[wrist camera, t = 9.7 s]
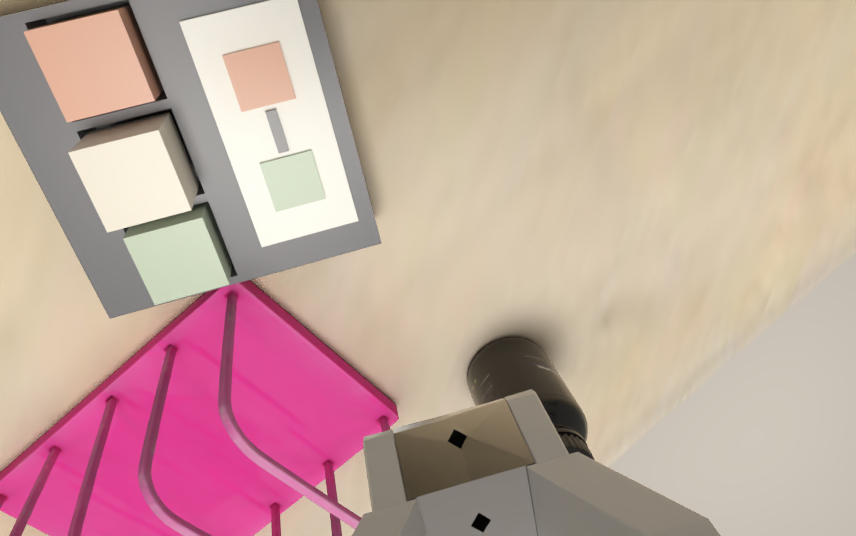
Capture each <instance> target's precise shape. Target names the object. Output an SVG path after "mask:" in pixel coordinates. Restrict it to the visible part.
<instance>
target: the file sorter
mask: <svg viewBox="0 0 856 536" xmlns="http://www.w3.org/2000/svg"><path fill="white" fill-rule="evenodd" d="M398 419H399V417H398V412H397V408H396V405H395V404H394V403H393V402H392V401H391V400H390V399H388V398H387V397H386V396H385V395H384V394H383V393H381V392H380V391H379V390H378V389H377V388H376V387H374V386H373V385H372V384H371V383H370V382H368V381H367V380H366V379H365V378H364V377H363V376H361V375H360V374H359V373H358V372H357V371H356V370H354V369H353V368H352V367H351V366H350V365H348V364H347V363H346V362H345V361H344V360H343V359H341V358H340V357H339V356H338V355H337V354H336V353H334V352H333V351H332V350H331V349H330V348H328V347H327V346H326V345H325V344H324V343H323V342H321V341H320V340H319V339H318V338H317V337H316V336H314V335H313V334H312V333H311V332H310V331H309V330H307V329H306V328H305V327H304V326H303V325H302V324H300V323H299V322H298V321H297V320H296V319H295V318H293V317H292V316H291V315H290V314H289V313H288V312H286V311H285V310H284V309H283V308H282V307H280V306H279V305H278V304H277V303H276V302H275V301H273V300H272V299H271V298H270V297H269V296H268V295H266V294H265V293H264V292H263V291H262V290H260V289H259V288H258V287H257V286H256V285H255V284H254V283H252V282H251V281H250V280H247V281H244V282H240V283H237V284H233V285H229V286H226V287H222V288H218V289H215V290H211V291H208V292H206V293H205V294H203V295H202V296H201V297H200V298H199V299H198V300H196V301H195V302H194V303H193V304H192V305H191V306H190V307H188V308H187V309H186V310H185V311H184V312H183V313H182V314H180V315H179V316H178V317H177V318H176V319H175V320H173V321H172V322H171V323H170V324H169V325H168V326H167V327H166V328H164V329H163V330H162V331H161V332H160V333H159V334H158V335H156V336H155V337H154V338H153V339H152V340H151V341H150V342H148V343H147V344H146V345H145V346H144V347H143V348H142V349H141V350H139V351H138V352H137V353H136V354H135V355H134V356H133V357H131V358H130V359H129V360H128V361H127V362H126V363H125V364H123V365H122V366H121V367H120V368H119V369H118V370H117V371H115V372H114V373H113V374H112V375H111V376H110V377H109V378H107V379H106V380H105V381H104V382H103V383H102V384H101V385H100V386H98V387H97V388H96V389H95V390H94V391H93V392H92V393H90V394H89V395H88V396H87V397H86V398H85V399H84V400H82V401H81V402H80V403H79V404H78V405H77V406H76V407H75V408H73V409H72V410H71V411H70V412H69V413H68V414H67V415H65V416H64V417H63V418H62V419H61V420H60V421H59V422H57V423H56V424H55V425H54V426H53V427H52V428H51V429H50V430H48V431H47V432H46V433H45V434H44V435H43V436H42V437H40V438H39V439H38V440H37V441H36V442H35V443H34V444H32V445H31V446H30V447H29V448H28V449H27V450H26V451H24V452H23V453H22V454H21V455H20V456H19V457H18V458H16V459H15V460H14V461H13V462H12V463H11V464H10V465H9V466H7V467H6V468H5V469H4V470H3V471H2V472H0V510H1V511H3V512H4V513H6V514H8V515H10V516H12V517H14V518H16V519H17V521H16V523H15V525H14V527H13V529H12V531H11V533H10V536H21V535H22V533H23V531H24V528H25V526H26V524H28V525H30V526H32V527H34V528H36V529H38V530H40V531H42V532H44V533H46V534H48V535H50V536H253V535H255V534H256V533H257V532H258V531H260V530H261V529H262V528H264V527H265V526H266V525H267V524H269V523H270V522H272V536H281V526H280V514H281V513H282V512H284V511H285V510H286V509H287V508H289V507H290V506H291V505H292V504H294V503H295V502H296V501H298V500H299V499H300V498H301V497H302V496H305V497H307V498H308V499H310V500H311V501H313V502H314V503H316V504H317V505H319V506H320V507H322V508H323V509H325V510H326V511H328V512H330V518H331V528H332V536H342V532H341V524H340V519H341V520H342V521H344V522H345V523H347V524H348V525H350V526H351V527H353V528H354V529H356V527H357V526H358V524H359V522H360V520H361V517H359V516H358V515H356V514H354V513H353V512H351V511H350V510H348V509H347V508H345V507H344V506H342V505H341V504H339V503H338V500H337V493H336V485H335V477H334V471H335V470H336V469H338V468H339V467H340V466H341V465H343V464H344V463H345V462H346V461H347V460H349V459H350V458H351V457H353V456H354V455H355V454H356V453H358V452H359V451H360V450H361V449H363V438H364V437H365V436H368V435H372V434H376V433H380V432H384V431H388V430H390V426H391V425H393V424H394V423H395V422H396V421H397V420H398ZM325 478H326V485H327V493H328V496H327V495H326V494H324V493H323V492H321V491H320V490H318V489H317V488H315V486H316V485H317V484H319V483H320V482H321V481H323V480H324V479H325Z"/></svg>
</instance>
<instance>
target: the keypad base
mask: <svg viewBox="0 0 856 536" xmlns="http://www.w3.org/2000/svg"><path fill="white" fill-rule="evenodd" d="M128 4H130V5H131V8H132V10H133V13H134V16H135V18H136V21H137V23H138V26H139V28H140V31H141V33H142V36H143V38H144V41H145V43H146V46H147V48H148V51H149V53H150V56H151V58H152V61H153V63H154V66H155V68H156V71H157V74H158V76H159V79H160V81H161V84H162V86H163V89H164V90H163V91H162V92H161V94H160V95H159V96H158V97H157V99H156V100H155V101H153V102H149V103H145V104H140V105H136V106H132V107H128V108H124V109H120V110H116V111H112V112H108V113H104V114H100V115H96V116H92V117H88V118H84V119H80V120H76V121H72V122H68V123H67V122H66V120H65V118H64V115H63V113H62V111H61V109H60V107H59V105H58V103H57V101H56V99H55V97H54V95H53V93H52V90H51V88H50V86H49V84H48V82H47V80H46V78H45V76H44V74H43V72H42V70H41V68H40V66H39V63H38V61H37V59H36V57H35V55H34V53H33V51H32V49H31V47H30V45H29V43H28V41H27V39H26V36H25V34H24V31H27V30H30V29H33V28H36V27H39V26H42V25H45V24H48V23H51V22H55V21H60V20H64V19H68V18H72V17H77V16H81V15H85V14H90V13H94V12H98V11H103V10H107V9H111V8H116V7H120V6H124V5H128ZM0 111H1V113H2V115H3V117H4V119H5V121H6V123H7V125H8V127H9V129H10V130H11V132H12V134H13V136H14V138H15V140H16V142H17V144H18V146H19V147H20V149H21V151H22V153H23V155H24V157H25V159H26V161H27V163H28V165H29V166H30V168H31V170H32V172H33V174H34V176H35V178H36V180H37V182H38V183H39V185H40V187H41V189H42V191H43V193H44V195H45V197H46V199H47V201H48V202H49V204H50V206H51V208H52V210H53V212H54V214H55V216H56V218H57V219H58V221H59V223H60V225H61V227H62V229H63V231H64V233H65V235H66V237H67V238H68V240H69V242H70V244H71V246H72V248H73V250H74V252H75V254H76V255H77V257H78V259H79V261H80V263H81V265H82V267H83V269H84V271H85V273H86V274H87V276H88V278H89V280H90V282H91V284H92V286H93V288H94V290H95V291H96V293H97V295H98V297H99V299H100V301H101V303H102V305H103V307H104V309H105V310H106V312H107V314H108V316H109V318H114V317H117V316H121V315H125V314H128V313H132V312H136V311H139V310H143V309H146V308H150V307H154V306H157V305H161V304H164V303H161V304H157V305H154V302H153V300H152V298H151V296H150V294H149V292H148V290H147V288H146V286H145V284H144V282H143V280H142V278H141V275H140V273H139V271H138V269H137V267H136V265H135V263H134V261H133V259H132V257H131V255H130V253H129V251H128V248H127V246H126V244H125V242H124V240H123V237H124V236H125V234H126V232H127V230H128V228H129V227H127V228H123V229H119V230H115V231H112V232H108V233H107V231H106V229H105V227H104V225H103V223H102V221H101V219H100V217H99V215H98V213H97V211H96V209H95V207H94V205H93V202H92V200H91V198H90V196H89V194H88V192H87V190H86V188H85V186H84V184H83V182H82V180H81V178H80V176H79V174H78V172H77V170H76V168H75V166H74V164H73V162H72V160H71V158H70V156H69V154H68V152H69V151H70V150H71V149H72V148H73V147H74V146H75V145H76V144H77V143H78V142H79V141H80V140H81V139H82V138H83V137H84V136H85V135H86V134H87V133H88V132H90V131H94V130H98V129H102V128H106V127H110V126H114V125H118V124H122V123H126V122H130V121H134V120H138V119H142V118H146V117H150V116H154V115H158V114H162V113H166V112H170V113H171V116H172V118H173V121H174V123H175V126H176V128H177V131H178V133H179V136H180V138H181V141H182V143H183V146H184V148H185V151H186V153H187V156H188V158H189V161H190V163H191V166H192V168H193V171H194V173H195V176H196V178H197V181H198V183H199V188H198V191H197V195H196V198H195V201H194V204H193V205H197V204H201V203H204V202H209V205H210V207H211V210H212V212H213V215H214V217H215V220H216V222H217V225H218V227H219V230H220V232H221V235H222V237H223V240H224V242H225V245H226V248H227V250H228V253H229V255H230V258H231V260H232V270H231V277H230V285H233V284H237V283H240V282H244V281H247V280H251V279H255V278H258V277H262V276H265V275H269V274H273V273H276V272H280V271H283V270H287V269H291V268H294V267H298V266H301V265H305V264H309V263H312V262H316V261H319V260H323V259H327V258H330V257H334V256H338V255H341V254H345V253H348V252H352V251H356V250H359V249H363V248H366V247H370V246H374V245H377V244H381V240H380V236H379V232H378V229H377V225H376V221H375V217H374V213H373V210H372V206H371V202H370V198H369V194H368V191H367V187H366V183H365V179H364V175H363V172H362V168H361V164H360V160H359V156H358V153H357V149H356V145H355V141H354V138H353V134H352V130H351V126H350V122H349V119H348V115H347V111H346V107H345V103H344V100H343V96H342V92H341V88H340V84H339V81H338V77H337V73H336V69H335V65H334V62H333V58H332V54H331V50H330V46H329V43H328V39H327V35H326V31H325V28H324V24H323V20H322V16H321V12H320V9H319V5H318V1H317V0H68V1H64V2H59V3H55V4H51V5H46V6H42V7H38V8H33V9H29V10H24V11H20V12H16V13H11V14H7V15H3V16H0ZM226 286H229V285H226ZM226 286H222V287H226ZM222 287H219V288H222ZM215 289H218V288H215ZM215 289H212V290H215ZM208 291H211V290H208ZM208 291H204V292H208ZM204 292H201V293H204ZM197 294H200V293H197ZM197 294H194V295H197ZM190 296H193V295H190ZM190 296H186V297H190ZM186 297H183V298H186ZM179 299H182V298H179ZM179 299H175V300H179ZM175 300H172V301H175ZM172 301H168V302H172ZM168 302H165V303H168Z"/></svg>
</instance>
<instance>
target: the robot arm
mask: <svg viewBox="0 0 856 536" xmlns="http://www.w3.org/2000/svg"><path fill="white" fill-rule="evenodd" d="M363 448H364V456H365V463H366V470H367V477H368V484H369V492H370V499H371V506H372V512H370V513H366V514H364V515H363V516H362V518H361V520H360V522H359V524H358V526H357V527H356V529H355V531H354V533H353V535H352V536H720V535H719V533H718V532H717V530H716V529H715V528H714V526H713V525H712V523H711V522H710V521H709V519H707V518H705V517H703V516H701V515H700V514H698V513H696V512H693V511H692V510H690V509H688V508H686V507H684V506H682V505H680V504H678V503H676V502H674V501H672V500H670V499H668V498H667V497H665V496H663V495H661V494H659V493H657V492H655V491H653V490H651V489H649V488H647V487H645V486H643V485H641V484H639V483H637V482H635V481H633V480H632V479H629V478H628V477H626V476H624V475H622V474H620V473H618V472H616V471H614V470H612V469H610V468H608V467H606V466H604V465H602V464H600V463H599V462H597V461H595V460H593V459H591V458H589V457H587V456H585V455H583V454H581V453H579V452H575V453H571V454H569V453H568V451H567V449H566V447H565V445H564V444H563V442H562V440H561V438H560V436H559V434H558V433H557V431H556V429H555V427H554V425H553V423H552V422H551V420H550V418H549V416H548V414H547V412H546V410H545V409H544V407H543V405H542V403H541V401H540V399H539V398H538V396H537V394H536V392H535V391H533V390H532V389H530V390H527V391H524V392H520V393H517V394H514V395H511V396H507V397H504V399H503V398H502V399H499V400H495V401H492V402H489V403H485V404H482V405H478V406H475V407H471V408H468V409H465V410H461V411H458V412H454V413H451V414H447V415H444V416H440V417H436V418H432V419H428V420H424V421H420V422H416V423H413V424H409V425H405V426H401V427H397V428H393V430H388V431H384V432H380V433H376V434H372V435H368V436H365V437H364V438H363Z"/></svg>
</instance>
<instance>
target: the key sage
mask: <svg viewBox="0 0 856 536" xmlns="http://www.w3.org/2000/svg"><path fill="white" fill-rule="evenodd" d="M123 240H124V242H125V244H126V246H127V248H128V251H129V253H130V255H131V257H132V259H133V261H134V263H135V265H136V267H137V269H138V271H139V273H140V275H141V278H142V280H143V282H144V284H145V286H146V288H147V290H148V292H149V294H150V296H151V298H152V300H153V302H154V305H157V304H161V303H165V302H168V301H172V300H175V299H179V298H183V297H186V296H190V295H194V294H197V293H201V292H204V291H208V290H212V289H215V288H219V287H222V286H226V285H230V277H231V270H232V260H231V258H230V255H229V253H228V250H227V248H226V245H225V242H224V240H223V237H222V235H221V232H220V230H219V227H218V225H217V222H216V220H215V217H214V215H213V212H212V210H211V207H210V205H209V202H204V203H201V204H197V205H193V207H192V210H191V211H187V212H183V213H180V214H176V215H172V216H168V217H165V218H161V219H157V220H153V221H149V222H146V223H142V224H138V225H134V226H131V227H129V228H128V230H127V232H126V234H125V236H124V237H123Z"/></svg>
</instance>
